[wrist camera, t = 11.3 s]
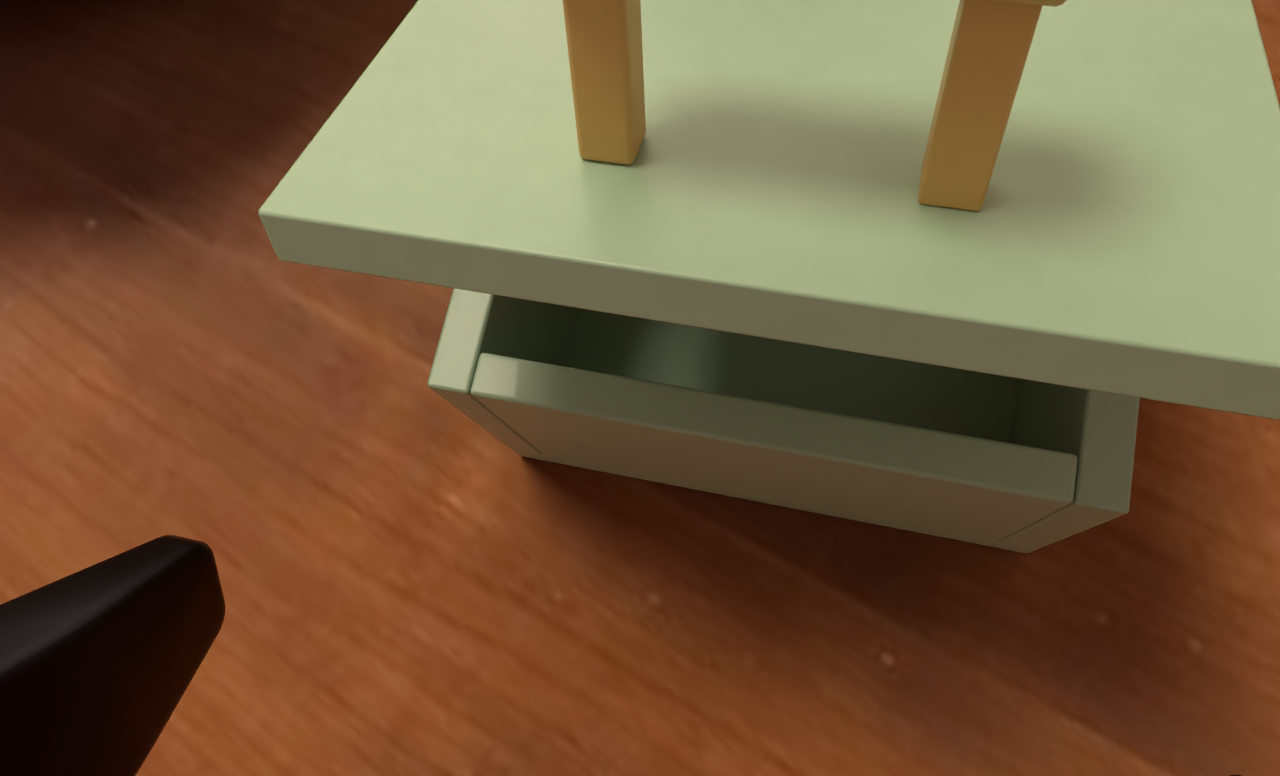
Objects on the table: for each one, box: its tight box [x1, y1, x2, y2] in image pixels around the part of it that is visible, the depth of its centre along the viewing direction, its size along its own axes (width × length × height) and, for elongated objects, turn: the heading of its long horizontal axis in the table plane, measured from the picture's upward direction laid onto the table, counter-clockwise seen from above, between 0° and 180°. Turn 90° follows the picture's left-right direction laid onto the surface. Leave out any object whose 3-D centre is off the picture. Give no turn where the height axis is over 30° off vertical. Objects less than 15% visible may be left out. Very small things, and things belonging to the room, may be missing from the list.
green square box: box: [428, 288, 1140, 553], centre depth 20 cm, size 12×12×6 cm
